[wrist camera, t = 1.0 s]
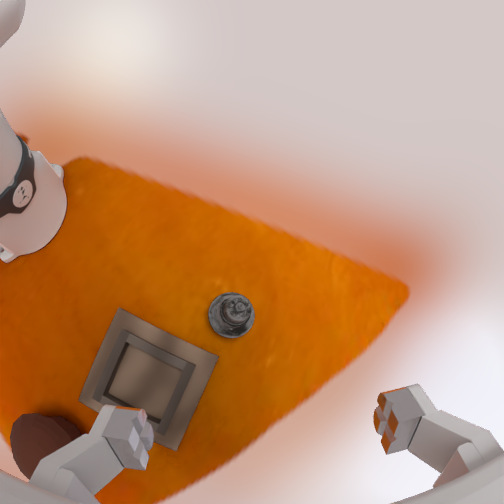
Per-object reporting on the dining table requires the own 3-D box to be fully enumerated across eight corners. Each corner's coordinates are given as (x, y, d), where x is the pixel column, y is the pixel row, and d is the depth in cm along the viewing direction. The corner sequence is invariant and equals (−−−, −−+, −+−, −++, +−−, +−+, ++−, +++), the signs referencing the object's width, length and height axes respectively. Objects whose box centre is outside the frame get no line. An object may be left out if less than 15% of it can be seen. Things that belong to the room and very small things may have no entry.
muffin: (85, 488, 29) (62, 515, 19) (25, 450, 28) (-7, 466, 19) (104, 430, 33) (81, 450, 24) (42, 391, 32) (6, 398, 23)
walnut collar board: (80, 399, 34) (71, 403, 30) (120, 308, 39) (114, 304, 36) (176, 449, 34) (175, 457, 31) (218, 356, 39) (220, 357, 36)
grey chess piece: (221, 288, 42) (231, 266, 31) (257, 311, 42) (280, 297, 31) (199, 323, 40) (200, 314, 29) (235, 346, 40) (251, 346, 29)
